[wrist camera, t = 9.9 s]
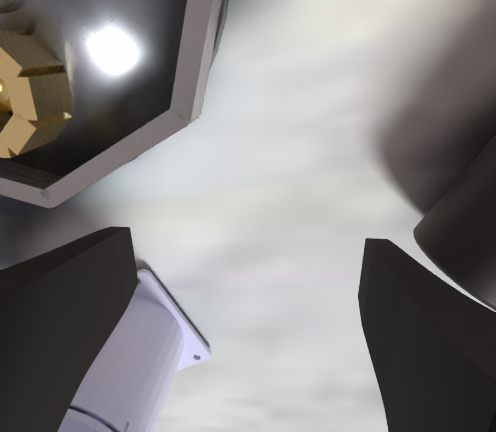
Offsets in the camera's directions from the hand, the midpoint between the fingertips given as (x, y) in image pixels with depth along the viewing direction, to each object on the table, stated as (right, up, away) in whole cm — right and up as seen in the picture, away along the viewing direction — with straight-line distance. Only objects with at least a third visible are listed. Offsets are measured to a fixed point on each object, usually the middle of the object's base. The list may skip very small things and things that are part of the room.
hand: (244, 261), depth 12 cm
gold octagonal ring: (-11, +8, +8) cm, 16 cm away
